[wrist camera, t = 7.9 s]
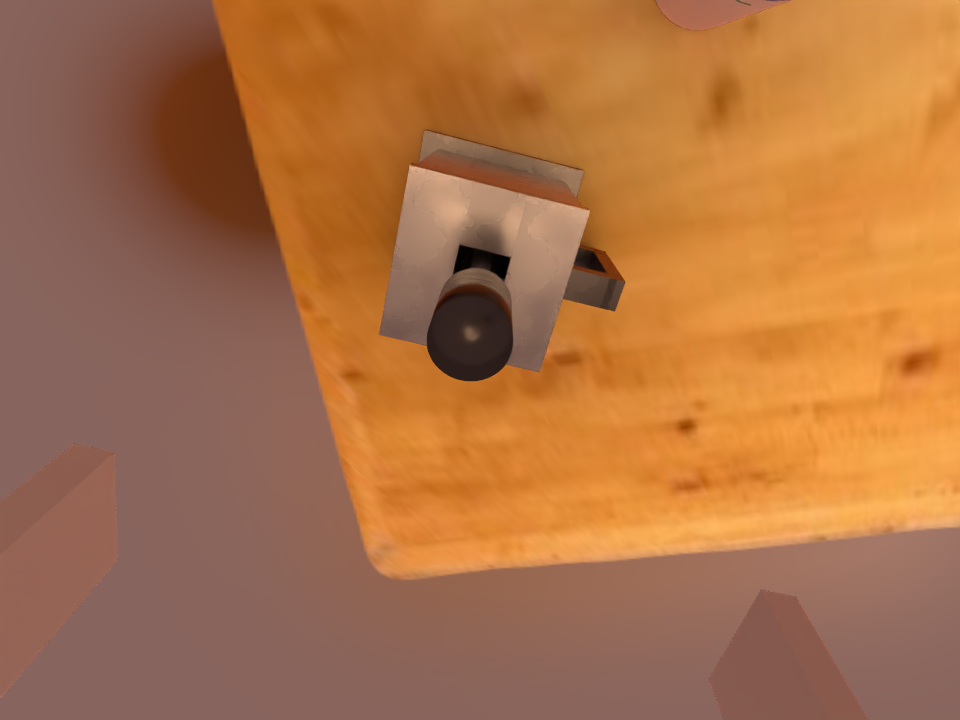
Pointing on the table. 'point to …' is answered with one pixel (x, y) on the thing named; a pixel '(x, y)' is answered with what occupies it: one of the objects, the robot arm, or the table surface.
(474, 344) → the plunger
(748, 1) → the cylindrical container
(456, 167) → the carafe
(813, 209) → the table surface
